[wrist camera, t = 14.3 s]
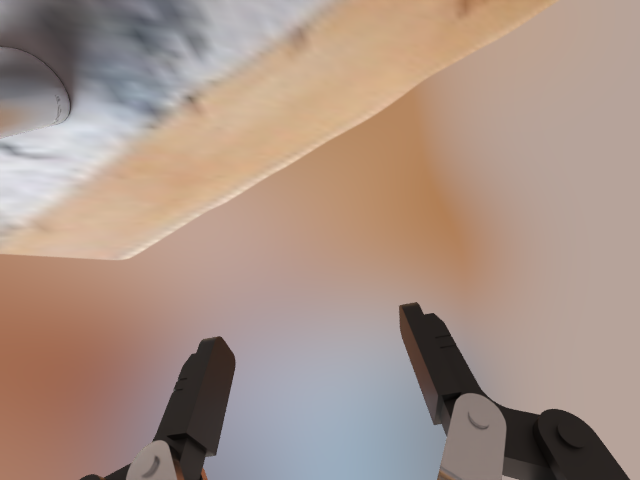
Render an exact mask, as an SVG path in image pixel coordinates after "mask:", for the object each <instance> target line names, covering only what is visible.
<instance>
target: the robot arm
mask: <svg viewBox="0 0 640 480" xmlns="http://www.w3.org/2000/svg"><path fill="white" fill-rule="evenodd" d="M69 111H70V102H69V98H68V94H67V92H66V90H65V87H64V86H63V84H62V83H61V81H60V79H59V78H58V77H57V76H56V75H55V73H54V72H53V71H52V70H51V69H50V68H49V67H48V66H47V65H46V64H44V63H43V62H42V61H40V60H39V59H38V58H36V57H34V56H33V55H31V54H29V53H27V52H24V51H22V50H19V49H14V48H5V47H0V138H5V137H9V136H13V135H17V134H21V133H25V132H29V131H33V130H37V129H41V128H45V127H49V126H53V125H57V124H60V123H62V122H63V121H64V120H65V119H66V118H67V117H68V114H69ZM399 315H400V331H401V335H402V339H403V342H404V344H405V347H406V350H407V353H408V355H409V358H410V361H411V364H412V366H413V369H414V372H415V374H416V377H417V380H418V383H419V385H420V388H421V391H422V394H423V396H424V399H425V402H426V405H427V407H428V410H429V413H430V416H431V418H432V421H433V424H434V425H437V424H442V426H443V428H444V431H445V434H446V436H447V439H446V444H445V448H444V452H443V457H442V461H441V465H440V469H439V474H438V478H437V480H502V475H504V476H508V477H511V478H515V479H519V480H630V479H629V478H628V476H627V475H626V474H625V472H624V471H623V470H622V468H621V467H620V465H619V464H618V463H617V461H616V460H615V459H614V457H613V456H612V455H611V453H610V452H609V450H608V449H607V448H606V446H605V445H604V444H603V442H602V441H601V440H600V438H599V437H598V436H597V434H596V433H595V432H594V431H593V430H592V428H590V426H588V425H587V424H586V423H585V422H584V421H582V420H581V419H580V418H578V417H576V416H575V415H573V414H571V413H569V412H566V411H563V410H558V409H549V410H546V411H544V412H542V413H541V415H537V414H533V413H528V412H523V411H518V410H513V409H509V408H506V407H503V406H501V405H499V404H497V403H496V402H494V401H492V400H491V399H490V398H489V397H488V396H487V395H486V394H485V393H484V392H483V391H482V390H481V388H480V387H479V385H478V383H477V381H476V380H475V378H474V376H473V374H472V373H471V371H470V369H469V367H468V365H467V363H466V361H465V360H464V358H463V356H462V354H461V353H460V350H459V349H458V347H457V346H456V343H455V342H454V340H453V338H452V337H451V334H450V332H449V330H448V329H447V327H446V325H445V323H444V322H443V321H442V320H440V319H439V318H438V317H437V316H436V315H435V314H434V313H431V314H425V315H424V314H423V312H422V310H421V308H420V305H419V304H418V303H417V302H415V303H410V304H404V305H400V306H399ZM234 371H235V356H234V354H233V352H232V351H231V350H230V348H229V347H228V345H227V344H226V342H225V341H224V340H223V338H222V337H220V336H219V337H213V338H207V339H203V340H202V341H201V342H200V344H199V347H198V350H197V352H196V353H195V354H191V356H190V357H189V359H188V360H187V361H186V363H185V364H184V365H183V367H182V370H181V372H180V375H179V377H178V382H176V385H175V387H174V392H173V393H172V395H171V398H170V400H169V403H168V405H167V408H166V410H165V413H164V415H163V418H162V420H161V423H160V425H159V428H158V431H157V433H156V435H155V437H154V439H153V441H152V443H150V444H148V445H147V446H146V447H144V448H143V449H142V450H141V451H140V452H139V453H138V455H137V456H136V457H135V459H134V460H133V462H132V463H131V464H129V465H127V466H125V467H123V468H121V469H119V470H117V471H115V472H114V473H112V474H110V475H108V476H106V477H104V478H103V477H100V476H98V475H94V474H91V475H88V476H85V477H83V478H81V479H80V480H208V479H207V476H206V473H205V470H204V469H203V464H204V460H205V457H209V456H215V455H216V452H217V448H218V444H219V439H220V435H221V430H222V425H223V421H224V416H225V412H226V407H227V403H228V398H229V394H230V389H231V384H232V380H233V375H234Z"/></svg>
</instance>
